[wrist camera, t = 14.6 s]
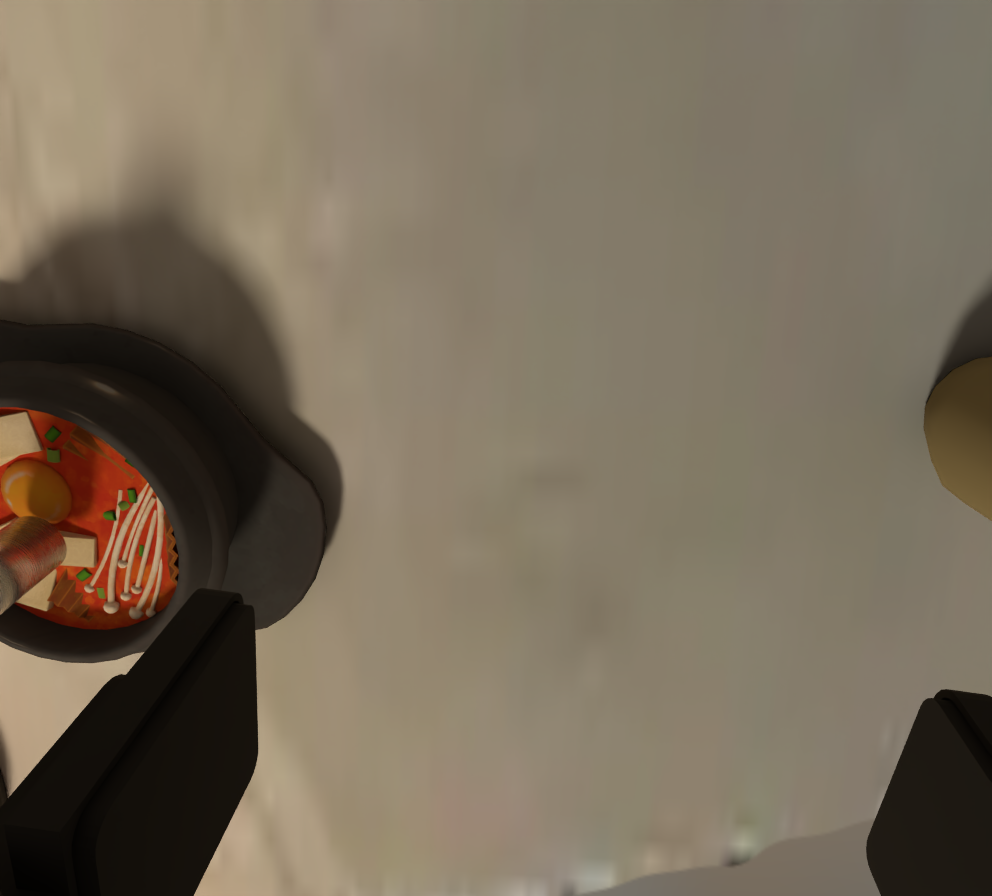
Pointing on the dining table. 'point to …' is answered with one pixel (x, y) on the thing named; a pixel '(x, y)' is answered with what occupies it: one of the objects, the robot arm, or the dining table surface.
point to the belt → (2, 791)
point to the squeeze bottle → (963, 433)
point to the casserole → (140, 492)
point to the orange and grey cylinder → (27, 556)
